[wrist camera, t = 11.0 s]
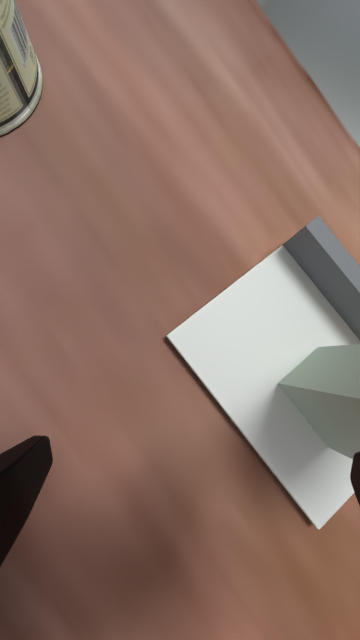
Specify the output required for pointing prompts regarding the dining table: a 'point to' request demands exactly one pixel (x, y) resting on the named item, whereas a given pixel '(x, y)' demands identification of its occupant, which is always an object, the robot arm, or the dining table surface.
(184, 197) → the dining table surface
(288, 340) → the white plate with rail
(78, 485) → the dining table surface
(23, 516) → the robot arm
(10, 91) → the coffee can
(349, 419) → the green carton
